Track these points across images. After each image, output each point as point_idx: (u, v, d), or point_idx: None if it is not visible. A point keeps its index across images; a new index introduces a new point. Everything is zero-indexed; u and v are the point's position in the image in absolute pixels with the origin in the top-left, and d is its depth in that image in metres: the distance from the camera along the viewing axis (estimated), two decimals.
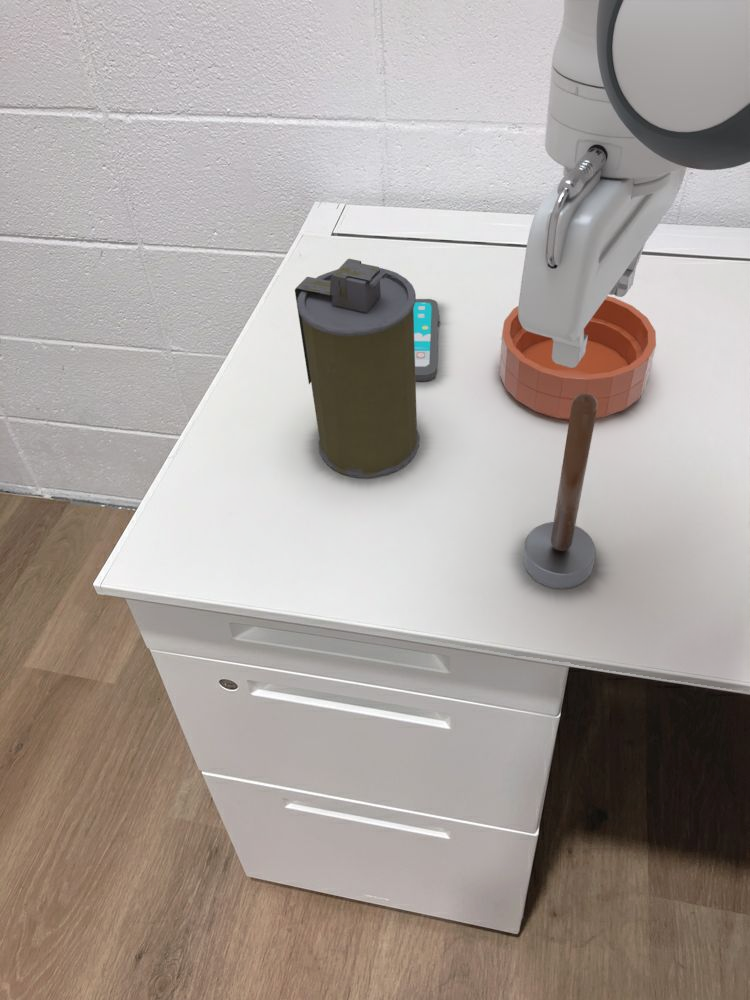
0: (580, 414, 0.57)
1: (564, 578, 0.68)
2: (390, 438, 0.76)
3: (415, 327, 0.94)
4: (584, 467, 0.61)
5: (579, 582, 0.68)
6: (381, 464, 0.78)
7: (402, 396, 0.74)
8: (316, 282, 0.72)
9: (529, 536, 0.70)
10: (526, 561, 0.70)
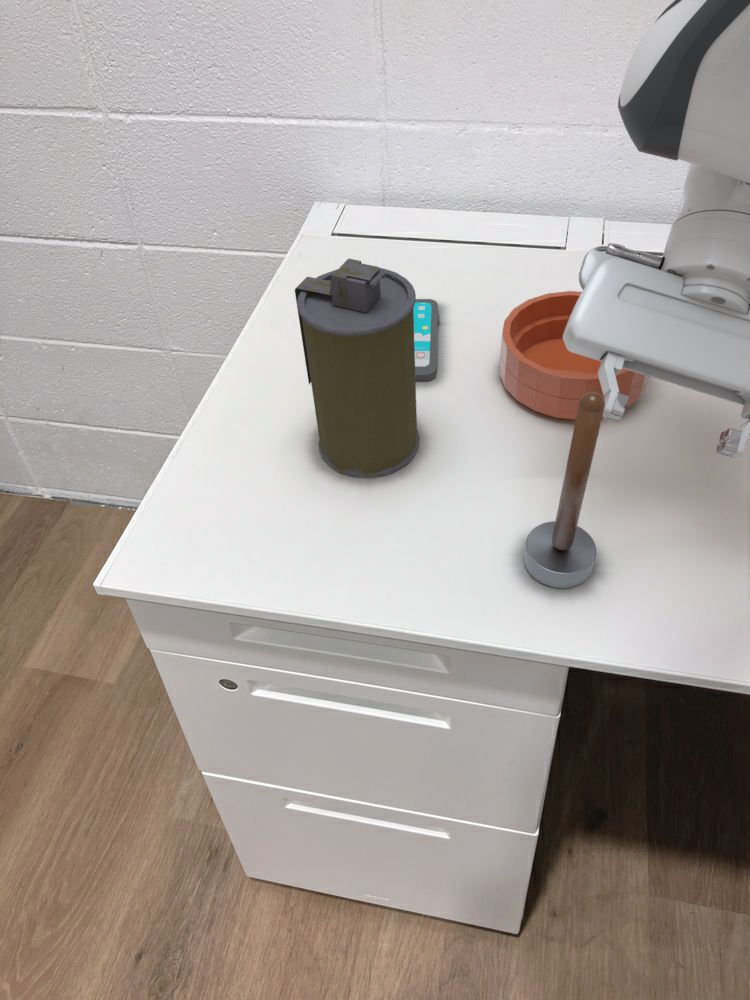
0: (588, 412, 0.57)
1: (564, 577, 0.67)
2: (390, 438, 0.76)
3: (415, 327, 0.94)
4: (589, 466, 0.61)
5: (579, 582, 0.68)
6: (381, 464, 0.78)
7: (402, 396, 0.74)
8: (316, 282, 0.72)
9: (530, 535, 0.70)
10: (527, 560, 0.69)
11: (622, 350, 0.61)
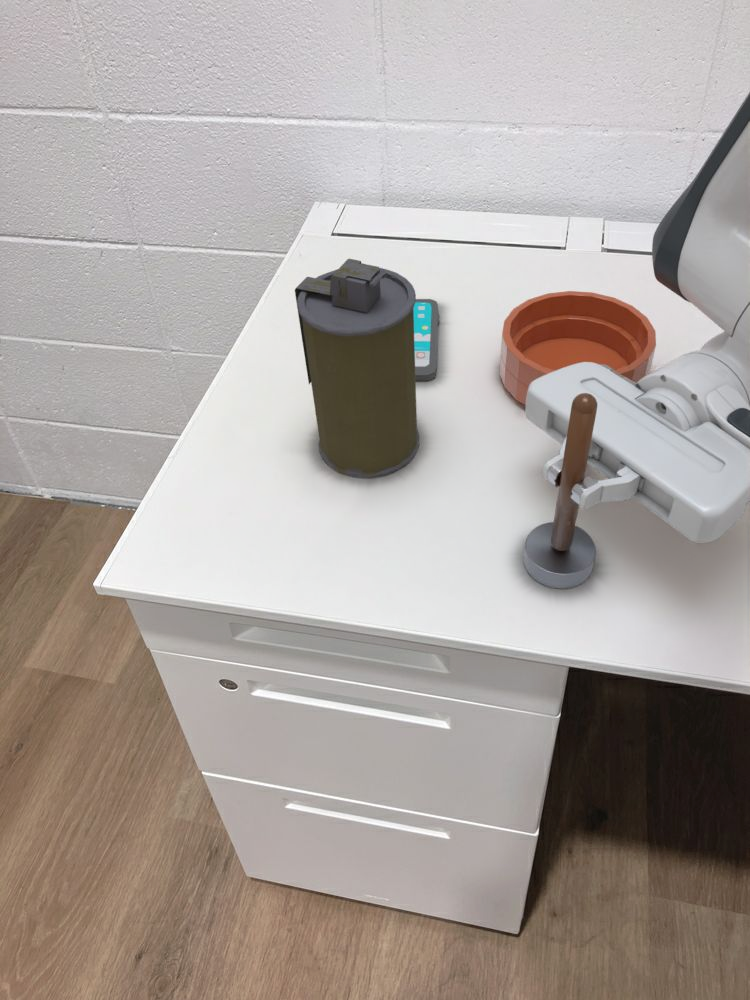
0: (580, 414, 0.57)
1: (564, 578, 0.68)
2: (390, 438, 0.76)
3: (415, 327, 0.94)
4: (584, 467, 0.61)
5: (579, 582, 0.68)
6: (381, 464, 0.78)
7: (402, 396, 0.74)
8: (316, 282, 0.72)
9: (529, 536, 0.70)
10: (526, 561, 0.70)
11: (559, 410, 0.67)
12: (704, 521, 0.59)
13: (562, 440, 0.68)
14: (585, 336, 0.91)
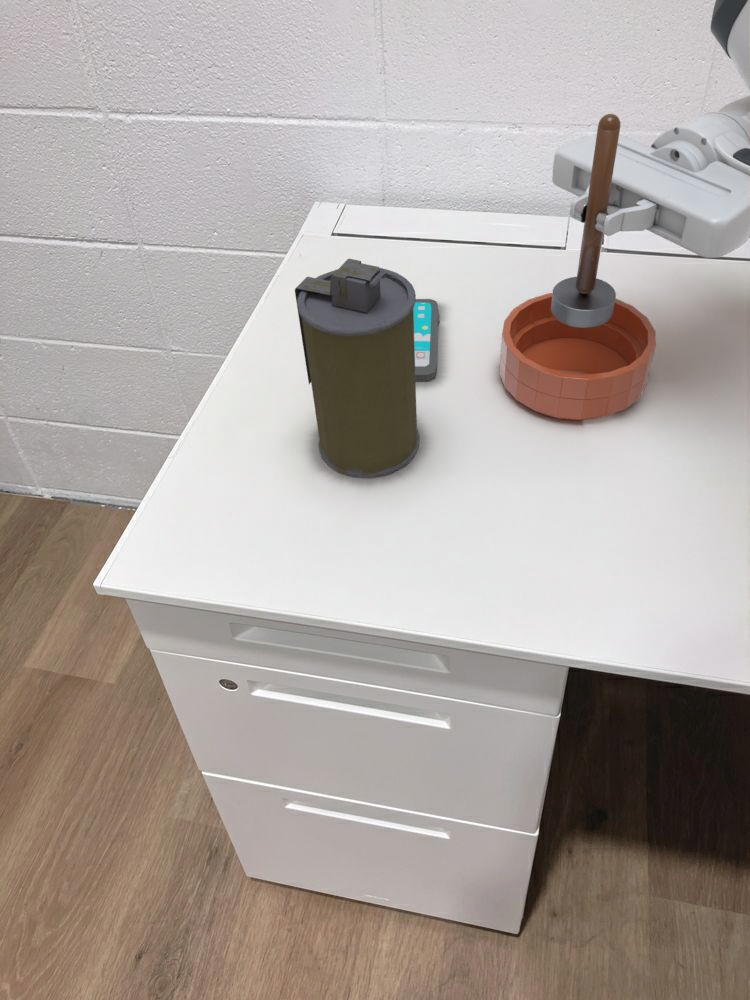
0: (605, 131, 0.66)
1: (588, 315, 0.76)
2: (390, 438, 0.76)
3: (415, 327, 0.94)
4: (607, 194, 0.70)
5: (601, 321, 0.77)
6: (381, 464, 0.78)
7: (402, 396, 0.74)
8: (316, 282, 0.72)
9: (556, 286, 0.79)
10: (553, 306, 0.78)
11: (584, 163, 0.75)
12: (713, 230, 0.67)
13: None
14: (585, 336, 0.91)
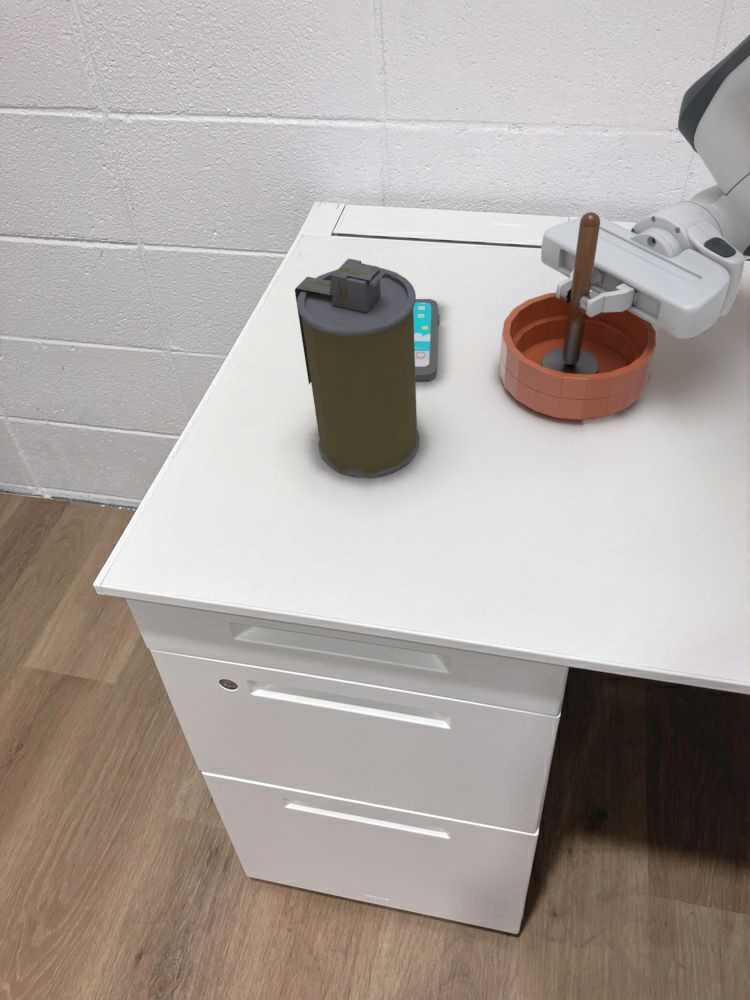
0: (586, 228, 0.73)
1: None
2: (390, 438, 0.76)
3: (415, 327, 0.94)
4: (589, 280, 0.77)
5: None
6: (381, 464, 0.78)
7: (402, 396, 0.74)
8: (316, 282, 0.72)
9: (544, 356, 0.86)
10: None
11: (569, 247, 0.83)
12: (684, 316, 0.74)
13: None
14: (585, 336, 0.91)
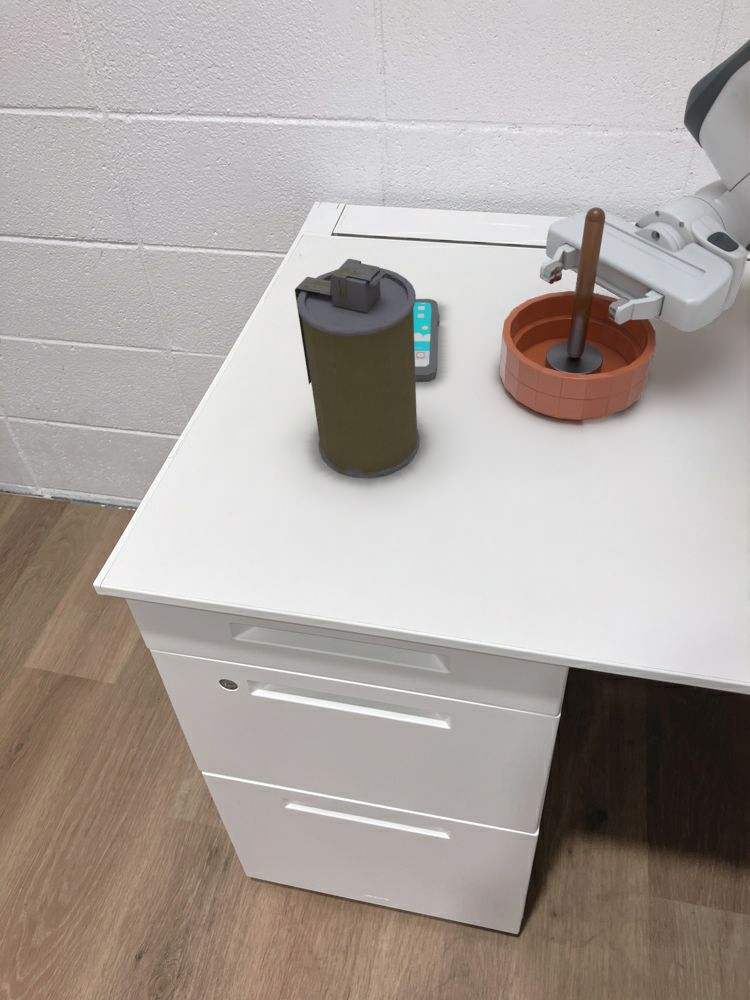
0: (592, 223, 0.74)
1: None
2: (390, 438, 0.76)
3: (415, 327, 0.94)
4: (594, 274, 0.78)
5: None
6: (381, 464, 0.78)
7: (402, 396, 0.74)
8: (316, 282, 0.72)
9: (549, 350, 0.87)
10: None
11: (574, 241, 0.84)
12: (688, 309, 0.75)
13: (576, 268, 0.85)
14: None
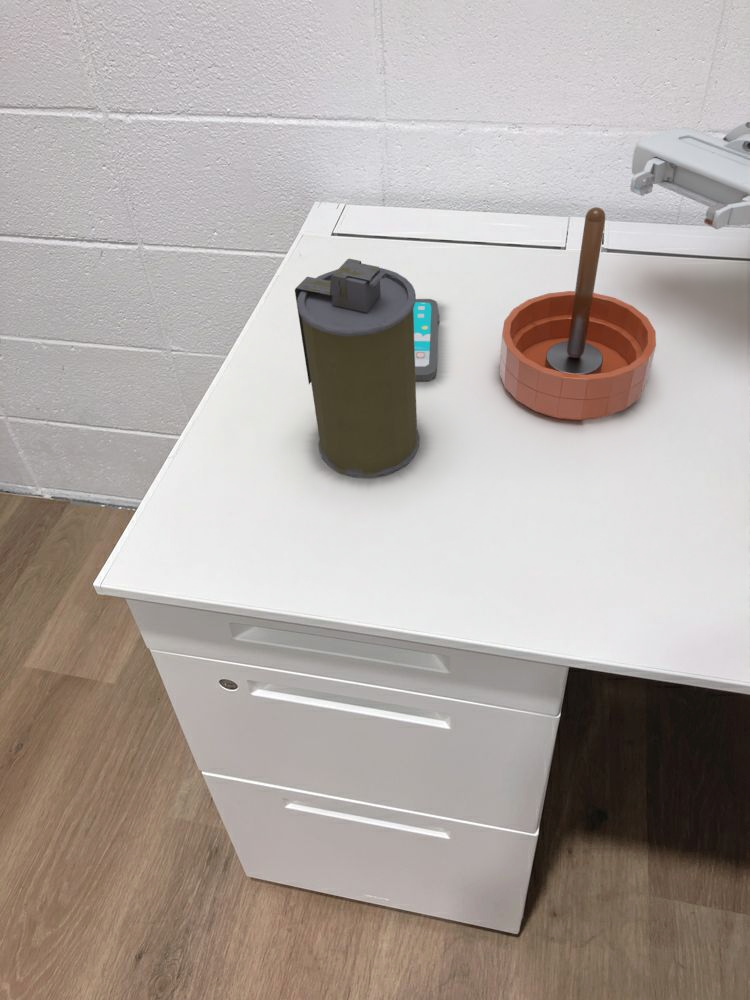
0: (592, 223, 0.74)
1: None
2: (390, 438, 0.76)
3: (415, 327, 0.94)
4: (594, 274, 0.78)
5: None
6: (381, 464, 0.78)
7: (402, 396, 0.74)
8: (316, 282, 0.72)
9: (549, 350, 0.87)
10: None
11: (664, 154, 0.84)
12: None
13: (664, 182, 0.85)
14: None
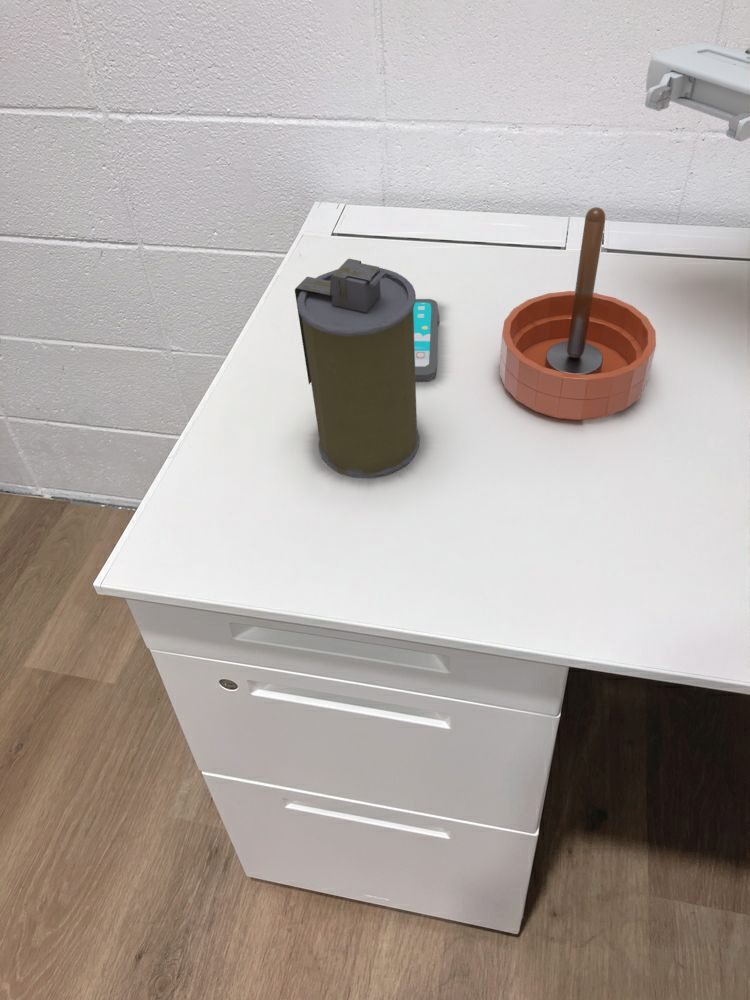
0: (592, 223, 0.74)
1: None
2: (390, 438, 0.76)
3: (415, 327, 0.94)
4: (594, 274, 0.78)
5: None
6: (381, 464, 0.78)
7: (402, 396, 0.74)
8: (316, 282, 0.72)
9: (549, 350, 0.87)
10: None
11: (681, 66, 0.78)
12: None
13: (682, 99, 0.79)
14: None
